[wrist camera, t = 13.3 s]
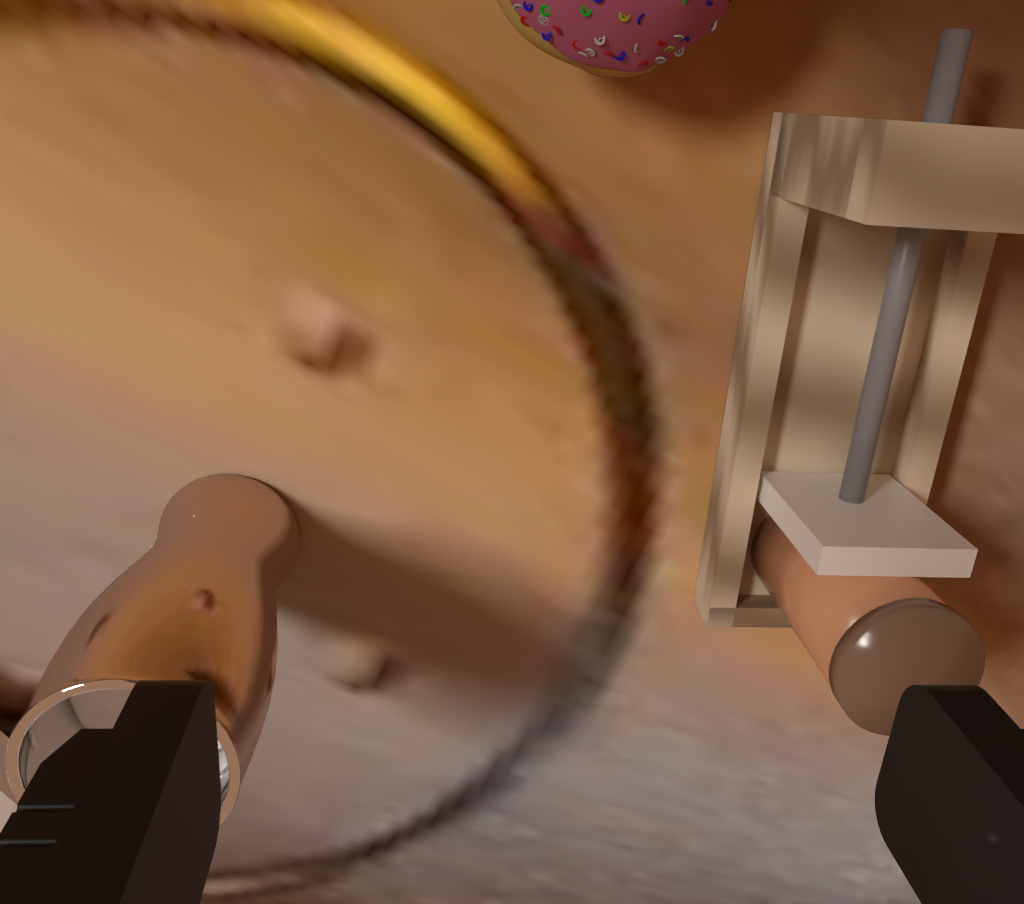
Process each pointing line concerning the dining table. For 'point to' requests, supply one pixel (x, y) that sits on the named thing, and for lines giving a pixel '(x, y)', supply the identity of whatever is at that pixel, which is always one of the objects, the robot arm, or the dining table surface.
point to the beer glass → (177, 628)
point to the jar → (867, 630)
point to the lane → (849, 315)
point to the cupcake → (614, 30)
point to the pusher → (878, 430)
